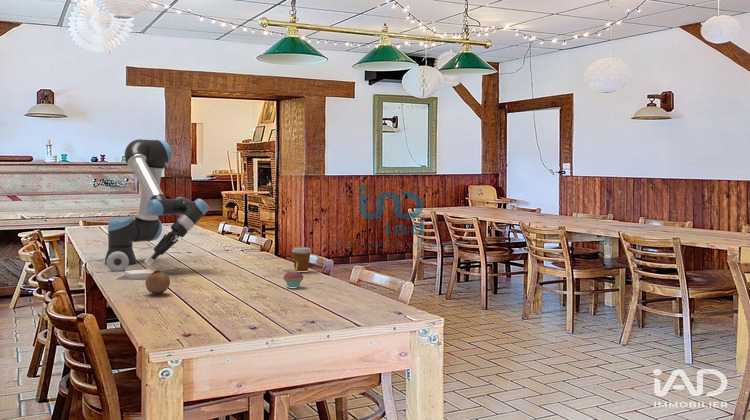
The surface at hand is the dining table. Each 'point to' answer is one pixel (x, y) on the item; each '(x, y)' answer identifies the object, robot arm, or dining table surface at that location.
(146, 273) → the board
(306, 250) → the disposable coffee cup
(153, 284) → the onion
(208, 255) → the dining table surface
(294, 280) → the cupcake
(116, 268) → the donut
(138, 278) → the mat
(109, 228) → the robot arm
